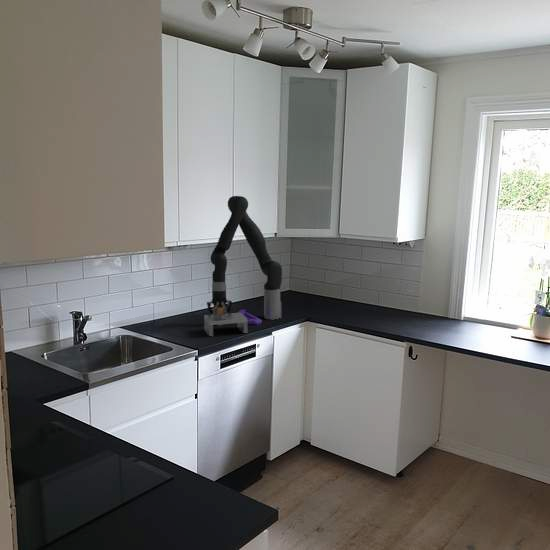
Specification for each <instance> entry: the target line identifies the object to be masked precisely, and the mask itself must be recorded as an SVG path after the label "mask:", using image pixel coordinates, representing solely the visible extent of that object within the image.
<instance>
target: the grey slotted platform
mask: <svg viewBox="0 0 550 550" xmlns="http://www.w3.org/2000/svg"><path fill="white" fill-rule="evenodd" d="M203 320H204V321H203V324H204V325H203V329H204V331H205V333H206V335H209V336H212V337H214V326H215V325H216V326H218V325H219V324H222V325H230V324H237V328H238V330H239V331H240V332H241V333H242V334H243V333H247V334H248V331H249V330H248V326H249V325H248V324H247V318H246V317H245V316H244V315H243V314H242V313H238V312H233V313H232V312H231V313H230V312H227V314H224V313H223V314H216V313H215V314H214V315H212V314H205V315H203ZM247 334H246V335H247ZM209 336H208V337H209Z"/></svg>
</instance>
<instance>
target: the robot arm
mask: <svg viewBox="0 0 550 550" xmlns="http://www.w3.org/2000/svg"><path fill="white" fill-rule="evenodd" d="M227 207H228V210H229V212H231V215H230V217H229V219H228V221H227V223H226V225H225V226H224V227H223V228H222V231H221V232H220V235H219V239H218V240H217V244H216V246H214V249H213V251H212V253H211V255H210V262H211V264H212V265H214V270H213V272H212V280H211V281H212V284H211V287H212V288H211V292H212V294H211V295H212V296H211V297H212V299H211V301H206V305H207V310H208V312H209V314H211V315H214V314H216V310H217V308H220V307H223V314H228V313H230V312H231V309H232V304H233V301H232V300H231V299H230V300H228V299H227V284H226V272H227V265H228V258H227V256H226V255H225V254H226V252H227V251H229V250H230V247H231V245H232V242H233V239H234V237H235V235H236V233H237V229H238V228H240V230H241V232H242V233H243V235H244V237H245V240H246V242H247V243H248V245H249V247H250V249H251V251H252V253H253V254H254V256H255V257H256V259H257V262H258V265H259V267H260V270H261V271H262V273H263V274H264V275H265V276H267V277H266V282H265V283H264V285H263V293H264V294H263V297H264V298H263V300H264V302H263V304H264V305H263V312H264V313H263V315H264V317H263V318H264V319H265V320H269V319H270V321H272V320H273V321H274V320H275V319H276V320H280V319H282V301H281V285H282V283H283V281H282V280H283V268H282V264H281V263H279V262H278V261H276V260H273V259H272V257H271V256H270V254H269V252H268V250H267V246H266V245H267V244H266V240H265V236H264V235H263V233H262V230H261V229H260V228H259V227H258V225H257V224H256V223H255V222H254V221H253V220H252V218H251V217H250V216H249V214H248V212H247V210H248V207H249V202H248V199H247V198H246V196H243V195H232V196H230V197H229V198H228V201H227ZM226 304H227V307H226ZM212 305H213V307H212ZM279 318H280V319H279Z"/></svg>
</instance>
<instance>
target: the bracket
mask: <svg viewBox="0 0 550 550" xmlns="http://www.w3.org/2000/svg"><path fill="white" fill-rule="evenodd" d="M237 313H242V314H243V315H244V316H245V317H246V318H247V325H248V324H257V325H256V326H259V325H260V324H262V323H263V320H262V319H261V318H258V317H257V316H255V315H253V314H251V313H249V312H246V309H240V310H239V311H238V312H237ZM261 322H262V323H261ZM259 323H260V324H259ZM258 324H259V325H258Z"/></svg>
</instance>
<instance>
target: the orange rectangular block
mask: <svg viewBox="0 0 550 550" xmlns="http://www.w3.org/2000/svg"><path fill="white" fill-rule="evenodd" d="M215 314H224V310H223V307H220V308H217V310H216V312H215ZM221 325H222V326H223V324H219V325H217V326H218V327H220V326H221Z"/></svg>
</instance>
